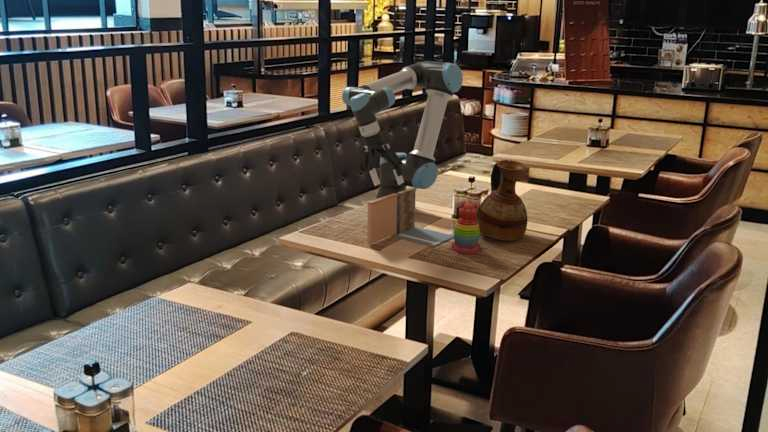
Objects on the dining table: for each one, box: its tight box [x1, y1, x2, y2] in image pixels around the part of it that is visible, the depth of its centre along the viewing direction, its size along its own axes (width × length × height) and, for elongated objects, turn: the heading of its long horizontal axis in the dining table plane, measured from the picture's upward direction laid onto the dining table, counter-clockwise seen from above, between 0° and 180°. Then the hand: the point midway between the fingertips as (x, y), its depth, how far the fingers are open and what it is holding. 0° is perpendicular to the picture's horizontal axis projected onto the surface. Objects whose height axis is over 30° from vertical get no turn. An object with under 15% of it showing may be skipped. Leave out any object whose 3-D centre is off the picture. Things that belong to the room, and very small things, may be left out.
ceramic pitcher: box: [475, 159, 528, 241], centre depth 282 cm, size 20×20×30 cm
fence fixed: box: [396, 187, 417, 234], centre depth 288 cm, size 12×2×16 cm, turn 143°
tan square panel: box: [366, 193, 398, 245], centre depth 277 cm, size 16×2×16 cm, turn 143°
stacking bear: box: [450, 202, 482, 255], centre depth 268 cm, size 11×10×18 cm
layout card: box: [391, 226, 454, 248], centre depth 285 cm, size 15×22×1 cm
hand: (389, 184), depth 289 cm, fingers open, 13 cm apart
